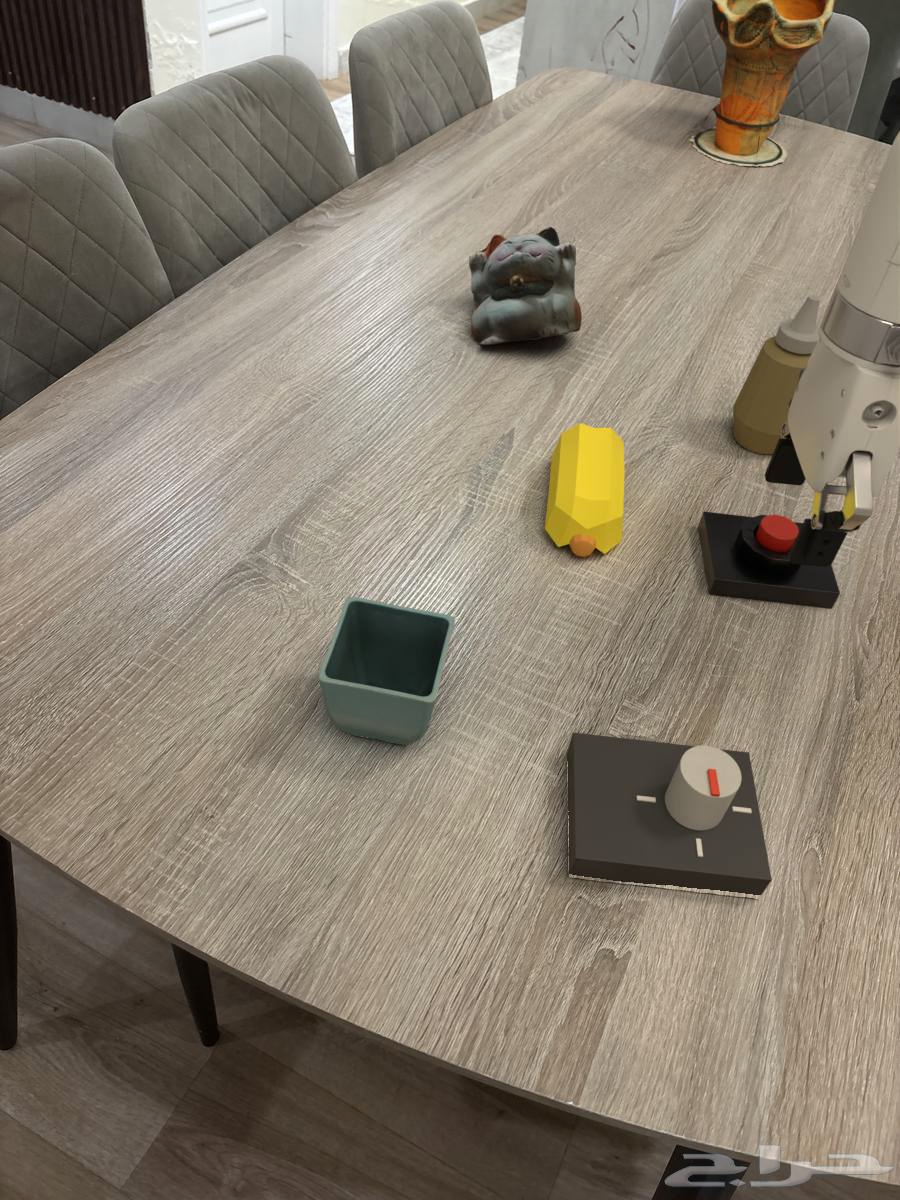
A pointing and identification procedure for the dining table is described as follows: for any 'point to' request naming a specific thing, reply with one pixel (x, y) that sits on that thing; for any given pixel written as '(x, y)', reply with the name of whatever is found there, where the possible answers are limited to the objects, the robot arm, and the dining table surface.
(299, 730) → the dining table surface
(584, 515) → the yellow faceted bar
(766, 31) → the decorative vase
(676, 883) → the panel
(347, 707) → the flower pot
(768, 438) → the squeeze bottle
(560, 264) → the lucky cat figurine
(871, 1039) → the dining table surface
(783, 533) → the button
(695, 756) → the burner knob
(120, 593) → the dining table surface
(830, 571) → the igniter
